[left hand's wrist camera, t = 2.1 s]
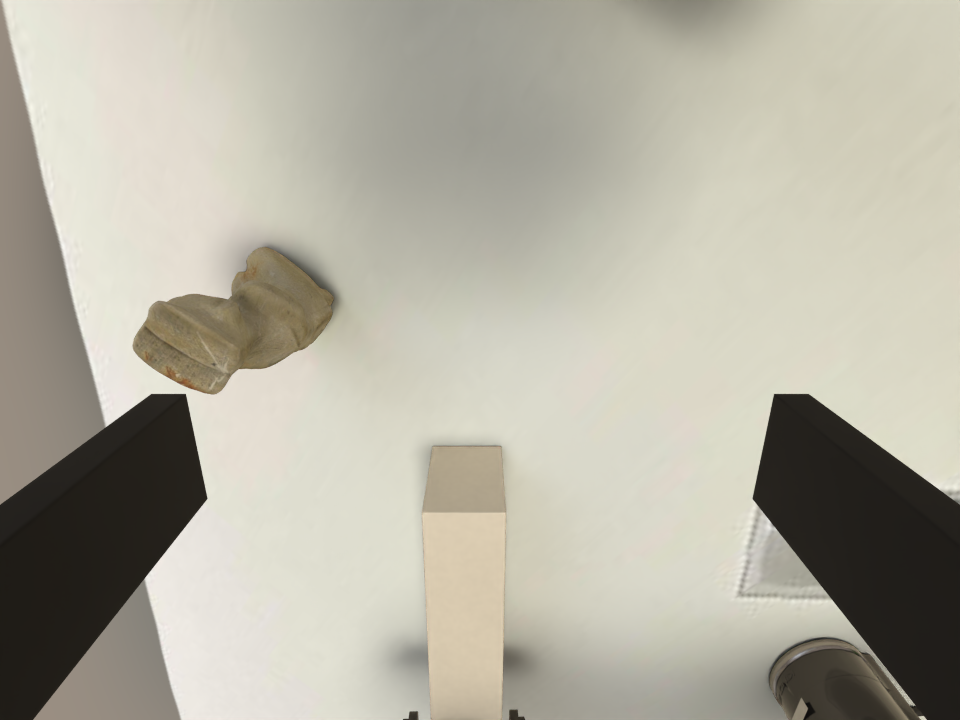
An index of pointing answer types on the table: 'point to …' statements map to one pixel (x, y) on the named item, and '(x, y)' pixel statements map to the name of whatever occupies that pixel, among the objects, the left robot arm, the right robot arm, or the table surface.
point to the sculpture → (235, 325)
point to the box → (465, 581)
